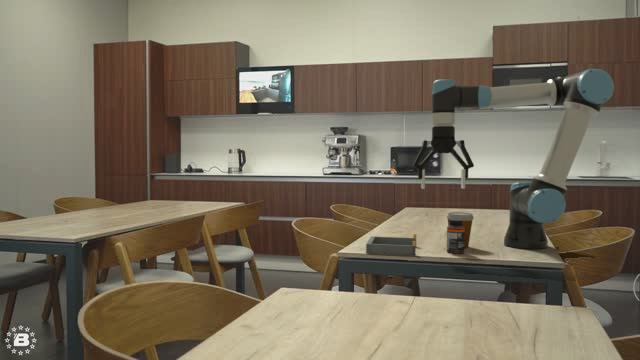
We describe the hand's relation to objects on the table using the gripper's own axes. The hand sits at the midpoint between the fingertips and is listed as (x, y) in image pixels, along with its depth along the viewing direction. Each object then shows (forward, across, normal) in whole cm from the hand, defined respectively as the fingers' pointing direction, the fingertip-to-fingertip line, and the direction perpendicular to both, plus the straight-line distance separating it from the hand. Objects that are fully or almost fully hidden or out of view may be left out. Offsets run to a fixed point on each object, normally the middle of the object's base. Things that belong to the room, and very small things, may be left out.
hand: (443, 188), depth 199 cm
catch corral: (+21, +17, -2) cm, 27 cm away
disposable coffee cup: (+22, -8, -10) cm, 25 cm away
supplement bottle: (+22, -4, +2) cm, 22 cm away
